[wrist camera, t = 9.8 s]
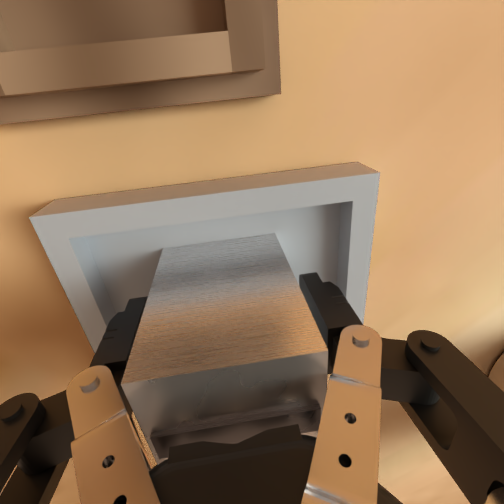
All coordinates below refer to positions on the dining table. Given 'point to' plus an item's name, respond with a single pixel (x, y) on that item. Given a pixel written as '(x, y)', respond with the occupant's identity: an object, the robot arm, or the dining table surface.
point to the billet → (225, 347)
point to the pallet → (133, 55)
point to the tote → (209, 232)
